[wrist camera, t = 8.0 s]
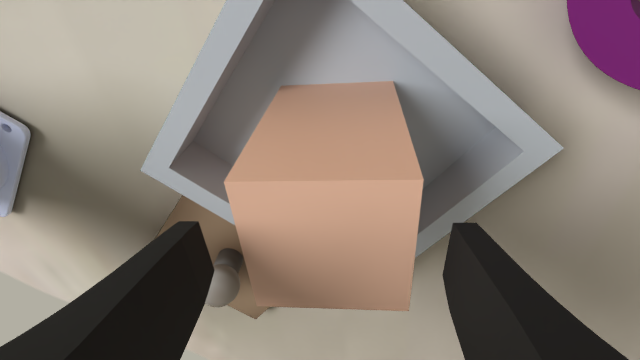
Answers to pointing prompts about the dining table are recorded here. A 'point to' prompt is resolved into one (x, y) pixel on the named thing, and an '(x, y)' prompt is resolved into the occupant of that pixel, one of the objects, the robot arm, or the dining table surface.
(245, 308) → the stud plate
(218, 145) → the bin
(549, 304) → the robot arm
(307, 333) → the dining table surface
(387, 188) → the salmon brown block
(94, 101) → the dining table surface
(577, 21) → the mounting bracket
